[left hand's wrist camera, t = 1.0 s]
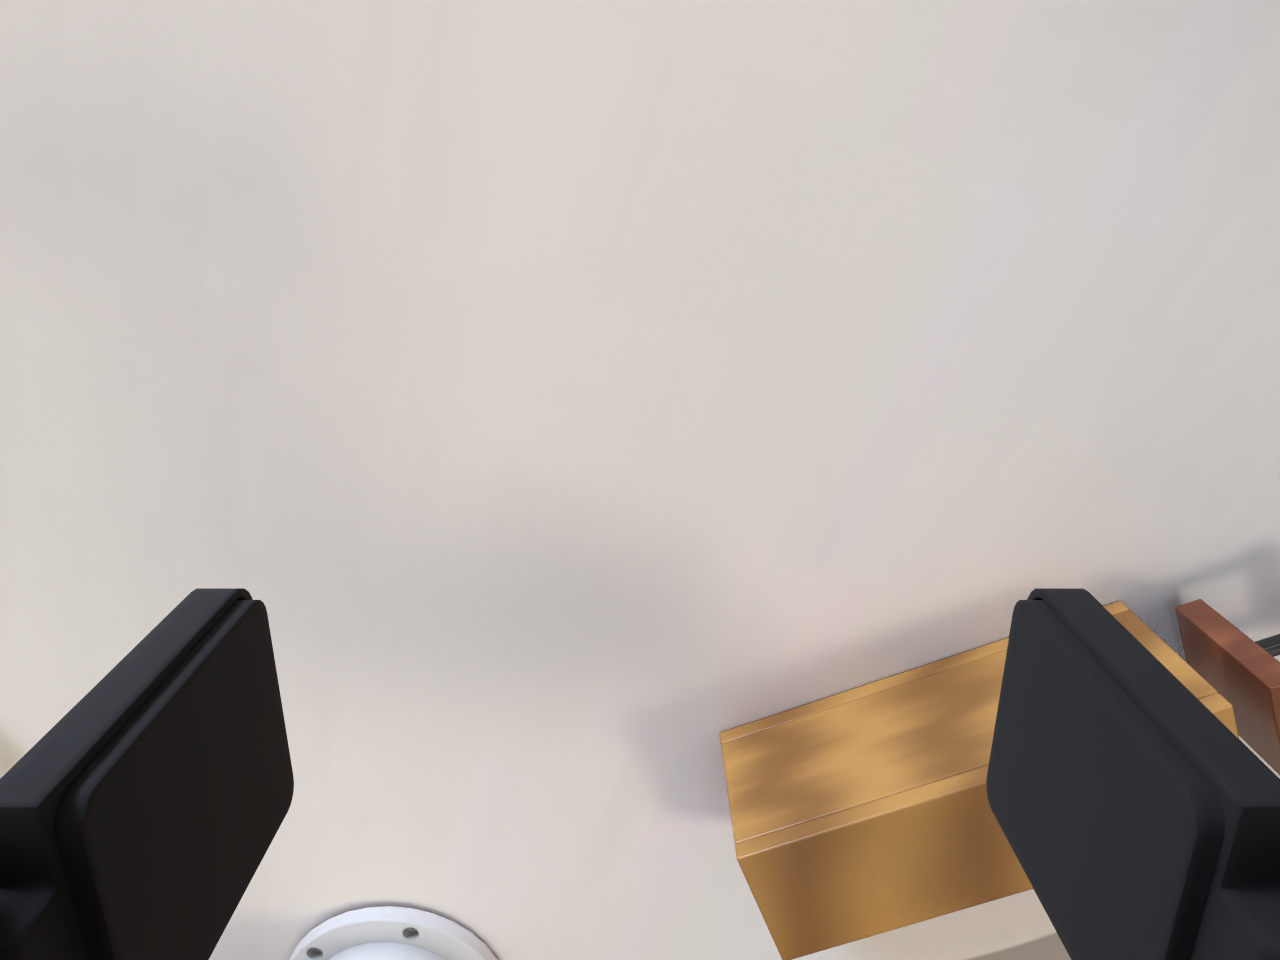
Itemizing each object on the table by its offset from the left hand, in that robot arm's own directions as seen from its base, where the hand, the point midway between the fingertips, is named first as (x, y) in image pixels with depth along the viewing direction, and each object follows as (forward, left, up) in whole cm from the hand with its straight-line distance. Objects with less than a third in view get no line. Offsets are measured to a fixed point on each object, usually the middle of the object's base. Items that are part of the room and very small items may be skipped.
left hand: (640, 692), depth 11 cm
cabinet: (-16, -19, -28) cm, 38 cm away
